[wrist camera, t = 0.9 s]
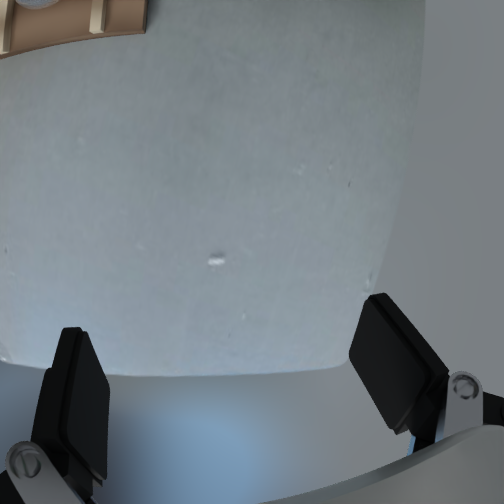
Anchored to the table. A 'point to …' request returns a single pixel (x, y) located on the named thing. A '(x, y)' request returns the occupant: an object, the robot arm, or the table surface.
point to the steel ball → (36, 3)
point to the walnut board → (67, 23)
